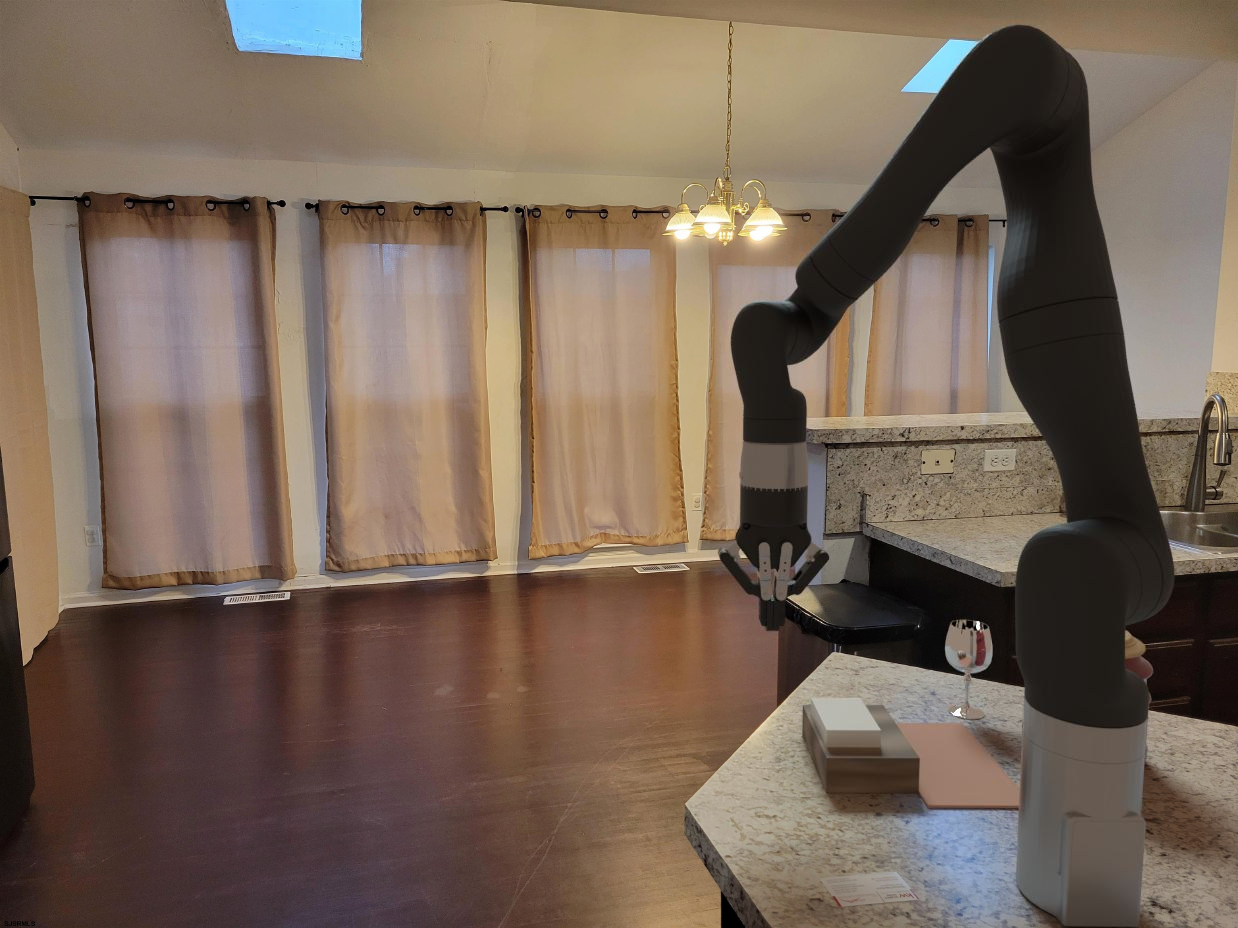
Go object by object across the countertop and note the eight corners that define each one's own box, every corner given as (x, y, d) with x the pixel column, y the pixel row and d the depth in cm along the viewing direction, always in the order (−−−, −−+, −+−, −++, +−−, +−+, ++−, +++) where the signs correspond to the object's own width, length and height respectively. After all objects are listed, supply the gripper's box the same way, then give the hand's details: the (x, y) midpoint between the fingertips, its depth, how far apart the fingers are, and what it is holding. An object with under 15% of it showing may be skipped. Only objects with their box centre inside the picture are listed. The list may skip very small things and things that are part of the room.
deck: (918, 792, 90) (919, 758, 89) (826, 792, 90) (826, 757, 90) (882, 735, 104) (883, 704, 103) (802, 735, 104) (802, 704, 104)
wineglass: (997, 721, 107) (1001, 632, 106) (952, 721, 107) (955, 632, 106) (979, 703, 113) (982, 618, 112) (936, 703, 113) (939, 618, 112)
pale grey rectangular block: (880, 747, 92) (881, 730, 92) (826, 747, 92) (826, 730, 92) (860, 713, 101) (860, 697, 101) (810, 713, 101) (810, 697, 101)
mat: (1034, 808, 87) (1034, 805, 86) (928, 807, 87) (928, 804, 87) (962, 725, 106) (962, 722, 106) (875, 724, 107) (876, 722, 107)
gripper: (717, 486, 90) (717, 640, 92) (840, 485, 89) (836, 640, 92) (712, 476, 97) (712, 618, 100) (825, 475, 97) (822, 619, 99)
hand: (771, 628), depth 96 cm, fingers closed
